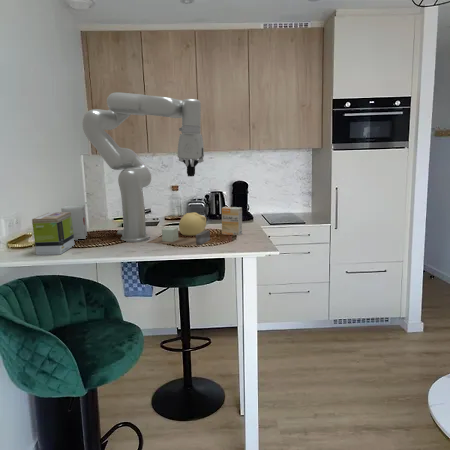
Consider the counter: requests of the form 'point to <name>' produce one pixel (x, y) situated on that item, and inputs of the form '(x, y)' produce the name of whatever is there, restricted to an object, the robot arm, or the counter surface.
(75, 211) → the supplement box
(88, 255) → the counter surface
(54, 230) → the tea box
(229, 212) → the supplement box
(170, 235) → the sage block
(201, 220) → the sculpture
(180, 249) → the counter surface
